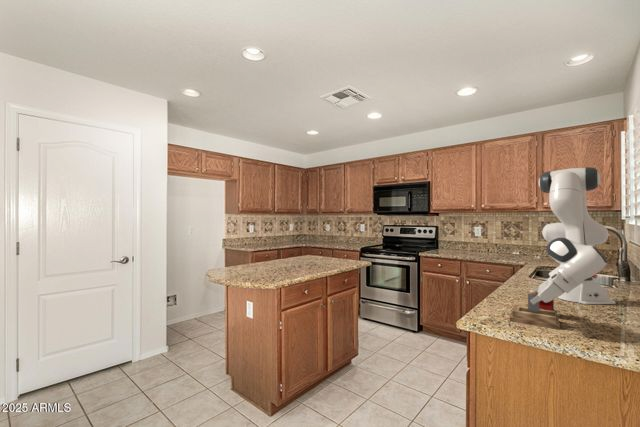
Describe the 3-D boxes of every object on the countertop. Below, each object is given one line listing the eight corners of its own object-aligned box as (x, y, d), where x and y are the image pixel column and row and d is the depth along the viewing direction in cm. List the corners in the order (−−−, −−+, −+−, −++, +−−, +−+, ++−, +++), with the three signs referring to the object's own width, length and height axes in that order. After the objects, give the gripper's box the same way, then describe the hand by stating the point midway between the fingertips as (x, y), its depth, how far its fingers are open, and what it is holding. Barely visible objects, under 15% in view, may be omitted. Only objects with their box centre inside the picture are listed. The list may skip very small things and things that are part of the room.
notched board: (558, 321, 122) (558, 311, 122) (559, 329, 113) (559, 318, 113) (511, 313, 131) (511, 304, 131) (509, 320, 122) (509, 311, 123)
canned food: (557, 317, 126) (557, 291, 126) (536, 316, 128) (535, 290, 128) (547, 312, 134) (547, 287, 134) (527, 310, 135) (527, 286, 135)
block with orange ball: (539, 313, 123) (538, 290, 123) (539, 315, 120) (538, 292, 120) (528, 311, 125) (528, 289, 125) (528, 313, 122) (527, 290, 122)
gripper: (554, 269, 127) (526, 289, 132) (555, 277, 110) (523, 300, 116) (568, 281, 124) (539, 301, 130) (571, 291, 107) (538, 314, 113)
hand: (531, 301), depth 123 cm, fingers closed on block with orange ball, 3 cm apart
